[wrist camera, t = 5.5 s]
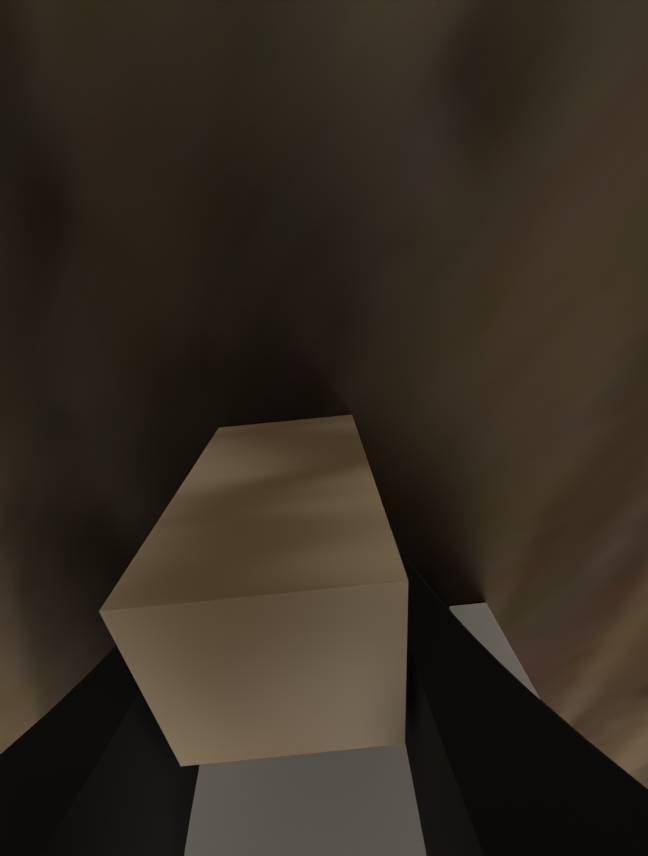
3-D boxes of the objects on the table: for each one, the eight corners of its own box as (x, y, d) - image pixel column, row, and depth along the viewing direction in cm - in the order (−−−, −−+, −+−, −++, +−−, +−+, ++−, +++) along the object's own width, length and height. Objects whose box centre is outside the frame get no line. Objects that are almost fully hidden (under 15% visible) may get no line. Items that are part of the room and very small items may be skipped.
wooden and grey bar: (352, 414, 10) (408, 579, 4) (371, 756, 18) (400, 968, 12) (218, 427, 10) (98, 611, 4) (298, 763, 18) (293, 979, 12)
